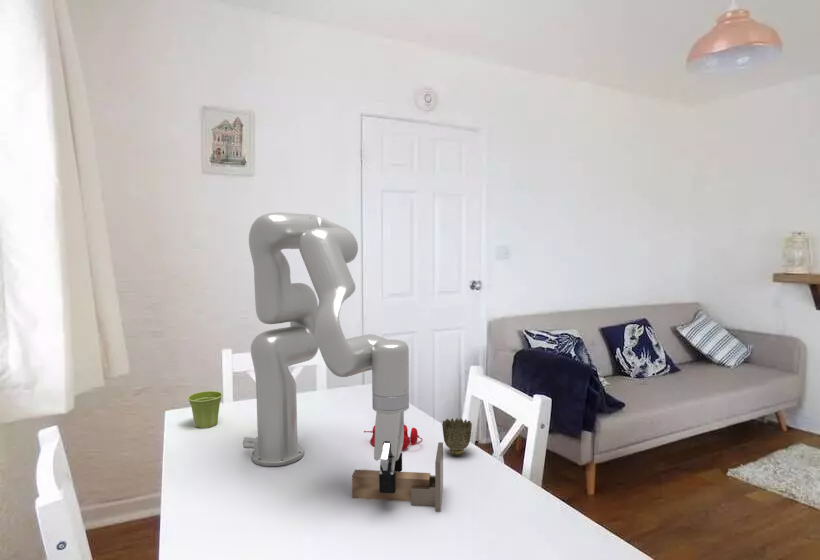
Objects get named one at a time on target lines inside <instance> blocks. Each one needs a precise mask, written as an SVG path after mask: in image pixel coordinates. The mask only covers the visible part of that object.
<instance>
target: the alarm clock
mask: <svg viewBox="0 0 820 560" xmlns="http://www.w3.org/2000/svg"><path fill="white" fill-rule="evenodd" d="M363 433H372V435H371V438H370V445H372V446H373V447H374V448H375V425H374V426H373V427H372V430H369V431H367V430H363ZM408 434H409V433H408V427H407V425H406V424H404V440H403V447H402V450H401V452H404V451H405V450H406V449H407V448H408V447H409V446H415V445H419V444H420V443H422V442H423V438H422V437H421V436H420V435H419V433H418V429H417V428H416V427H412V428H411V430H410V436H409V435H408ZM418 439H420V441H418V442H417V440H418Z"/></svg>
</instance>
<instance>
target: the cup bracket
mask: <svg viewBox="0 0 820 560" xmlns="http://www.w3.org/2000/svg"><path fill="white" fill-rule="evenodd" d="M434 464H435V466H434V470H435V472H434V473H435V475H432V474H430V487H413V486H412V487H411V501H410V502H411V503H410V505H411V506H421V507H422V506H424V507H435V508H434V509H435V513H436V512H437V513H440V512H441V510H442V503H443V502H442V500H443V493H444V442H438V443H437V450H436V457H435V461H434Z"/></svg>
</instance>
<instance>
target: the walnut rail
mask: <svg viewBox="0 0 820 560" xmlns="http://www.w3.org/2000/svg"><path fill="white" fill-rule="evenodd" d="M379 473H380V470H374V469H373V470H372V469H354V471H353V472H352V474H351V494H352V495H351V497H352V499H361V500H377V501H379V500H380V501H396V502H397V501H398V502H400V501H401V502H411V487H412V486H413V487H430V475H431V472H418V471H417V472H416V471H401V472H398V471H394V473H396V492H395V493H394V494H393V493H380V491H379Z"/></svg>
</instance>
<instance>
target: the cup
mask: <svg viewBox="0 0 820 560" xmlns="http://www.w3.org/2000/svg"><path fill="white" fill-rule="evenodd" d="M441 425H442V435H443V441H444V444H445V446H446V447H447V448H448V449H449V454H450V455H452V456H454V457H460V456H463V455H464V454H465V449H467V448H468V446H469V445H470V442H471V436H472V427H473V424H472V422H471V420H468V421H467V419H464V420H463V418H461V417H460V418H458V417H457V418H455V420H454V418H453V417H452V418H451V419H449V418H446V419H445V420H442V423H441Z"/></svg>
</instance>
